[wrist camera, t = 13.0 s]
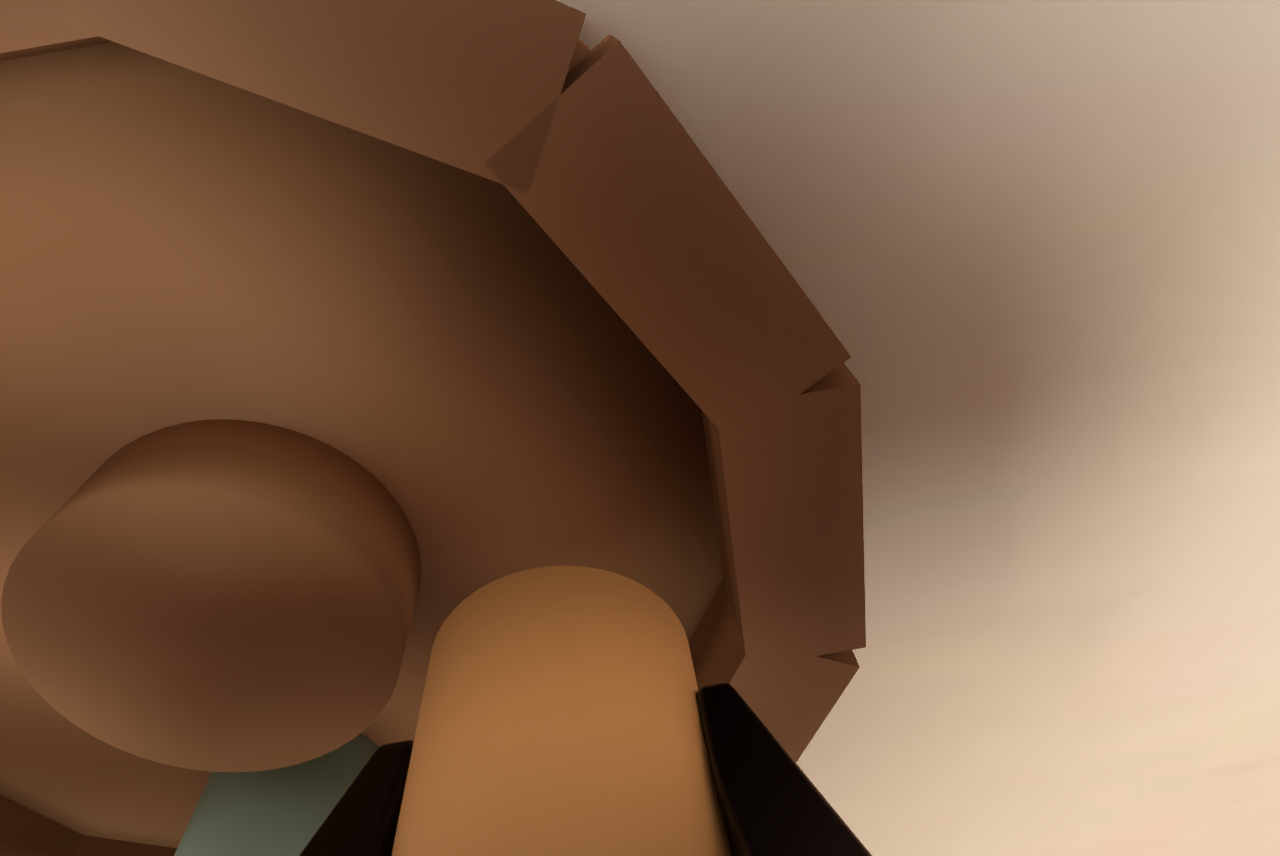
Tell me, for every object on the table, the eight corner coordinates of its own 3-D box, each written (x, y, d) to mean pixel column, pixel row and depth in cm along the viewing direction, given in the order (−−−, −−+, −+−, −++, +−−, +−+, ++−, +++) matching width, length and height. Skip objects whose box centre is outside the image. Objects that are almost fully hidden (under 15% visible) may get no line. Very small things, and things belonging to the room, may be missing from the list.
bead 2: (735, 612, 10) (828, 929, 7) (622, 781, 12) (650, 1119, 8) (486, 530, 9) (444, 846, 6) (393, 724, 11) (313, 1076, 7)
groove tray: (599, 911, 21) (605, 1049, 19) (-312, 783, 16) (-492, 944, 14) (1012, 197, 13) (1135, 251, 10) (-559, -480, 8) (-1137, -729, 5)
